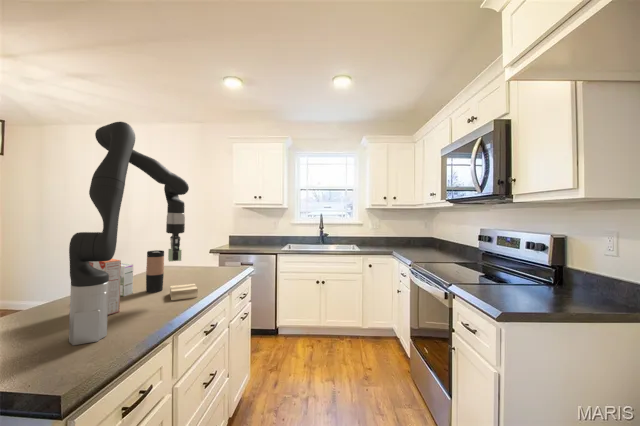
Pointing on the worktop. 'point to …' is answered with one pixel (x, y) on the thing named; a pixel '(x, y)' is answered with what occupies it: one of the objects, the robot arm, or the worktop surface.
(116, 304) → the cracker box
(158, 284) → the travel mug
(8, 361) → the worktop surface
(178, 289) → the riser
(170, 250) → the cube
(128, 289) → the syrup box
